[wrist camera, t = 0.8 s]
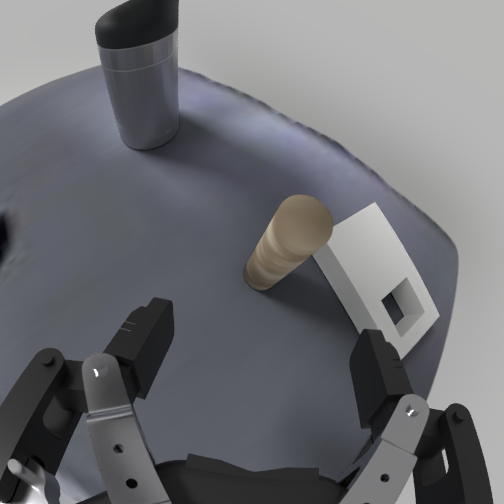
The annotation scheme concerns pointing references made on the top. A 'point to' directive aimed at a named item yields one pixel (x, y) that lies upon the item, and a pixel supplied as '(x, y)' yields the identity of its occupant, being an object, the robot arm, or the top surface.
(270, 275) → the birch peg
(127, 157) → the top surface
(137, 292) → the top surface
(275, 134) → the top surface
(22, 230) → the top surface
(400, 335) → the hole block
